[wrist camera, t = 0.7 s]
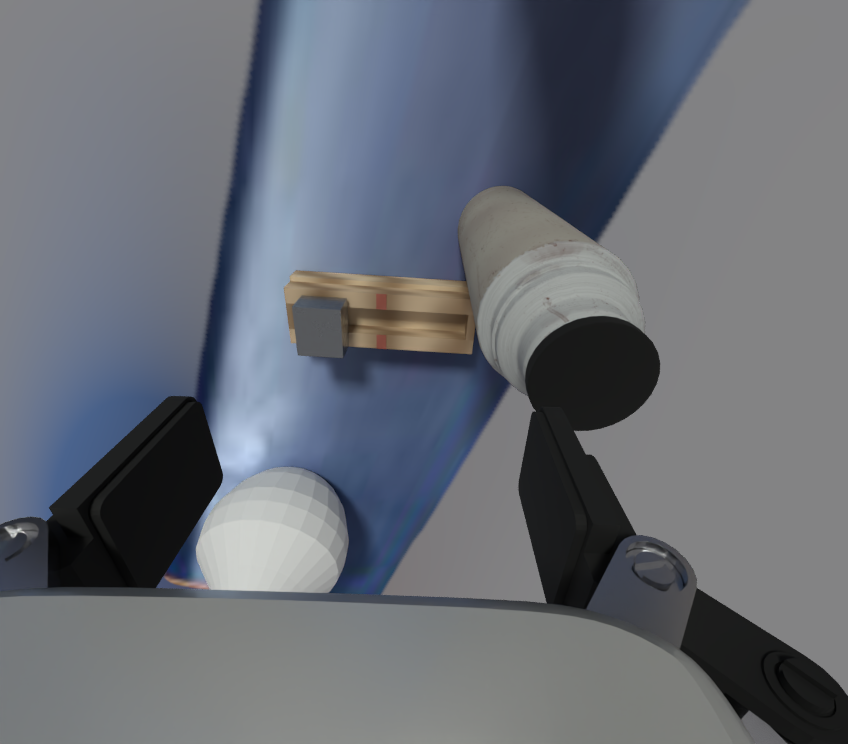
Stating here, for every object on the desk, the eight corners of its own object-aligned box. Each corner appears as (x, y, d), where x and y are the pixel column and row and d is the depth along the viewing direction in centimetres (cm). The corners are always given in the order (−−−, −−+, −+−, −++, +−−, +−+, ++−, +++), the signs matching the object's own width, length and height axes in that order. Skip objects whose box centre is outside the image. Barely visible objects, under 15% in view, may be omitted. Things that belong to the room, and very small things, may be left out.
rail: (302, 332, 45) (291, 349, 42) (295, 270, 42) (282, 282, 38) (468, 342, 45) (470, 360, 42) (476, 281, 42) (479, 295, 38)
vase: (214, 450, 55) (22, 723, 30) (341, 437, 53) (252, 717, 28) (261, 534, 64) (147, 797, 39) (371, 525, 63) (325, 796, 37)
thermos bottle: (546, 254, 40) (710, 436, 16) (471, 280, 42) (516, 481, 18) (529, 171, 36) (710, 247, 12) (446, 204, 38) (462, 327, 14)
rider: (312, 332, 43) (297, 355, 38) (307, 287, 40) (291, 306, 36) (352, 335, 43) (343, 358, 38) (351, 290, 40) (340, 309, 36)
